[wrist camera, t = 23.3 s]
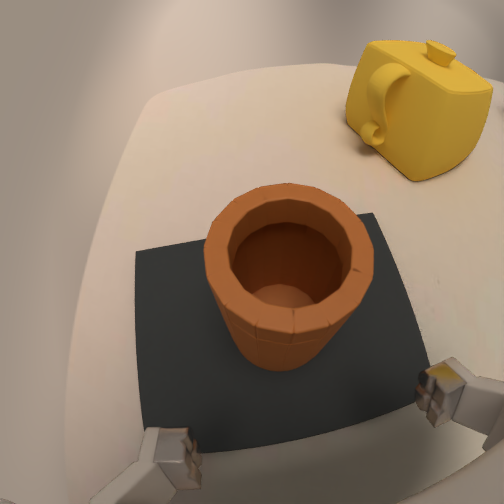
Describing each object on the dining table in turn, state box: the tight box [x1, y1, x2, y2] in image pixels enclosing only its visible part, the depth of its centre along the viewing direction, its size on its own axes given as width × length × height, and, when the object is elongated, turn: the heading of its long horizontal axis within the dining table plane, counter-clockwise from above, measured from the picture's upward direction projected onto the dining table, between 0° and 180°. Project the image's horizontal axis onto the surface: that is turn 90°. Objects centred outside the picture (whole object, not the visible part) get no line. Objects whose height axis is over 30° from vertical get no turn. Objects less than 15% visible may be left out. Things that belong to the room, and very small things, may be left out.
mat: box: [135, 213, 430, 453], centre depth 17 cm, size 18×14×1 cm
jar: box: [203, 183, 374, 371], centre depth 13 cm, size 6×6×9 cm
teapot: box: [346, 40, 493, 181], centre depth 22 cm, size 20×12×12 cm, turn 118°
